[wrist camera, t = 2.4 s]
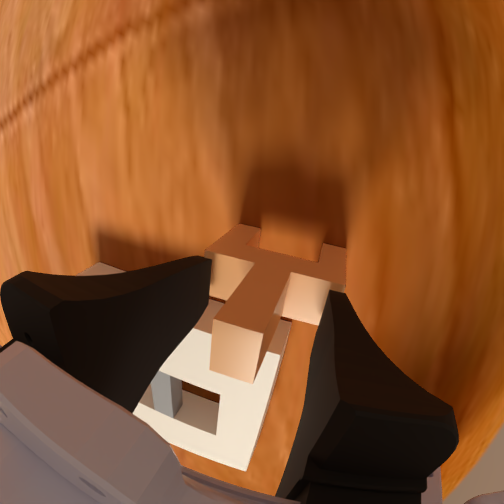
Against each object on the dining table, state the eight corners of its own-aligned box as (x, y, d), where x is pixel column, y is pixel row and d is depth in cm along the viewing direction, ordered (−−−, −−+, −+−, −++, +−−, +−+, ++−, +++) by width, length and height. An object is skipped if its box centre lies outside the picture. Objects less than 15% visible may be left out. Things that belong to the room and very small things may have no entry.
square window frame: (292, 322, 17) (280, 355, 14) (256, 445, 22) (245, 471, 19) (99, 261, 20) (70, 278, 17) (120, 389, 25) (103, 408, 23)
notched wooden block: (346, 248, 14) (342, 354, 7) (336, 284, 15) (320, 402, 8) (238, 223, 16) (147, 296, 8) (234, 258, 16) (151, 347, 9)
